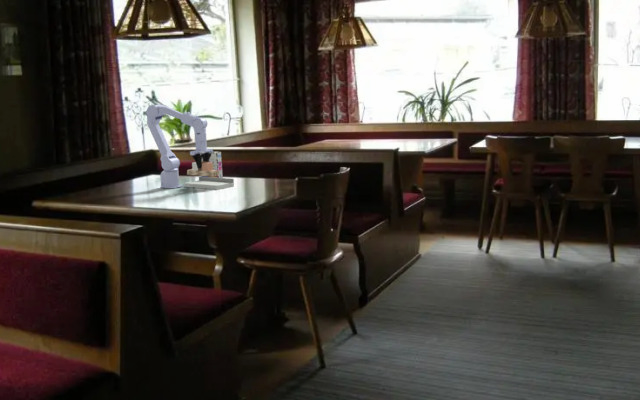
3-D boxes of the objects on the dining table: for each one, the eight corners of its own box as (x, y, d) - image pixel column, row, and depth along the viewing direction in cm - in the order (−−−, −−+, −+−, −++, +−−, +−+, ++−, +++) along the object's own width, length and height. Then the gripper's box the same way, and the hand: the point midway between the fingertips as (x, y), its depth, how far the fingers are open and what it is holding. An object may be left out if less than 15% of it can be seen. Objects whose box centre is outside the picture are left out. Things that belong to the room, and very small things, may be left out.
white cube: (192, 170, 359) (191, 162, 358) (197, 169, 362) (197, 161, 361) (197, 170, 356) (197, 162, 356) (203, 169, 360) (202, 162, 359)
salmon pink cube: (202, 170, 355) (201, 163, 354) (207, 169, 358) (207, 162, 357) (207, 171, 352) (207, 163, 352) (213, 170, 356) (212, 162, 355)
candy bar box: (223, 180, 382) (221, 151, 380) (218, 182, 378) (217, 152, 375) (205, 180, 387) (204, 151, 384) (201, 181, 382) (199, 152, 379)
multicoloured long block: (187, 174, 361) (186, 161, 360) (194, 173, 365) (193, 160, 364) (212, 176, 350) (211, 162, 349) (219, 175, 354) (218, 161, 353)
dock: (184, 186, 364) (184, 179, 363) (200, 183, 374) (200, 176, 373) (218, 189, 350) (217, 181, 350) (233, 186, 360) (233, 178, 359)
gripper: (196, 143, 347) (198, 169, 349) (216, 140, 358) (218, 166, 360) (186, 142, 351) (188, 169, 353) (206, 140, 362) (208, 165, 364)
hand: (202, 167), depth 357 cm, fingers closed on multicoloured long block, 4 cm apart
